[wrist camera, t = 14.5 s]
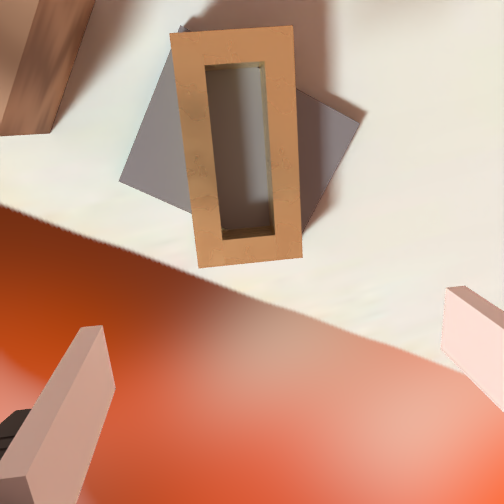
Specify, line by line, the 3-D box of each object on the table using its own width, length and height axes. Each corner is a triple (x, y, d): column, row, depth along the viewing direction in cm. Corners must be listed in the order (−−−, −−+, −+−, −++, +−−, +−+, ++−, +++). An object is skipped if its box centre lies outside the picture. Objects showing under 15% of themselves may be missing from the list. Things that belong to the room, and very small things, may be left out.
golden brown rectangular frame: (285, 34, 29) (293, 25, 27) (295, 246, 34) (302, 257, 31) (173, 42, 29) (169, 33, 26) (199, 256, 34) (198, 268, 31)
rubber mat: (181, 28, 30) (180, 25, 29) (355, 123, 33) (359, 123, 32) (121, 179, 32) (118, 181, 31) (287, 253, 36) (289, 257, 35)
